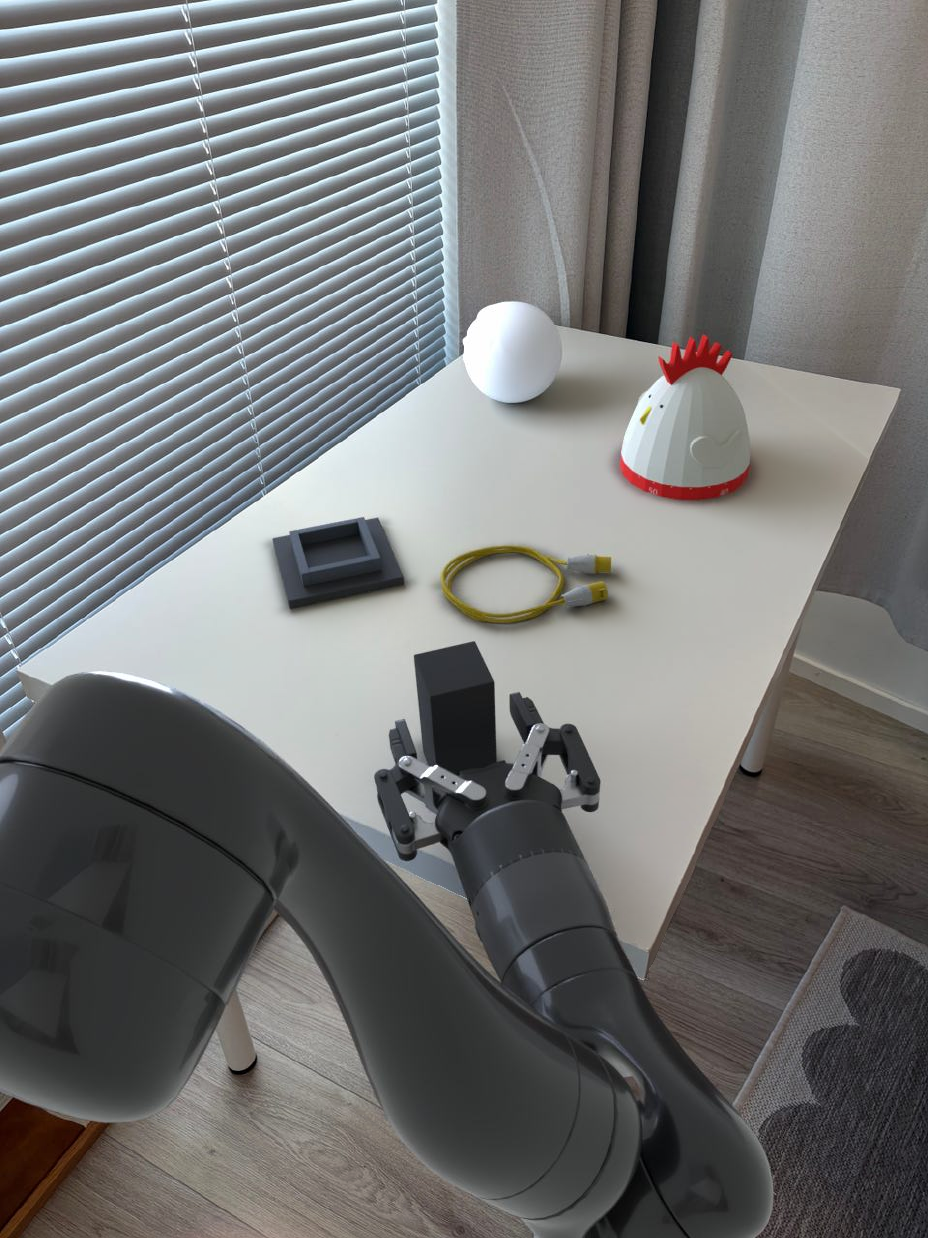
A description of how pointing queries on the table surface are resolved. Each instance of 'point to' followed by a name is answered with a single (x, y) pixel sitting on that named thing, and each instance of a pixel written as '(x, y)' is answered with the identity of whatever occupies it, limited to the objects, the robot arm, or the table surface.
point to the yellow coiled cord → (578, 563)
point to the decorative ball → (512, 351)
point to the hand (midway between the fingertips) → (457, 714)
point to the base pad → (336, 561)
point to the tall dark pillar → (456, 708)
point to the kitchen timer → (688, 429)
